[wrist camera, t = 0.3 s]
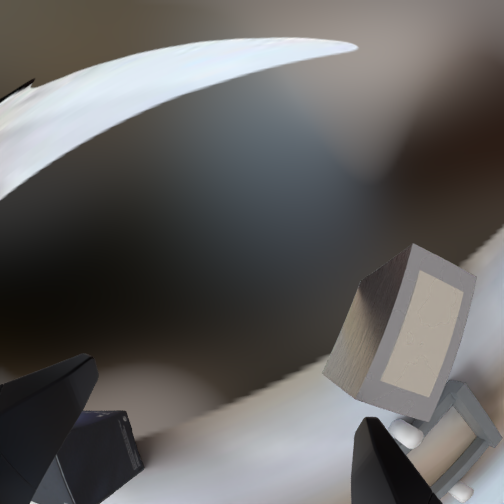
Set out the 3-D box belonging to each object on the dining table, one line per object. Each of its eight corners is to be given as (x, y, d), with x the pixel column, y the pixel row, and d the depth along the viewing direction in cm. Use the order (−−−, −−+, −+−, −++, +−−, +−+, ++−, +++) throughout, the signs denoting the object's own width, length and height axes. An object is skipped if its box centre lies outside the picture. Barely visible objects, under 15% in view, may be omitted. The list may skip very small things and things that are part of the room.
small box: (127, 405, 21) (49, 433, 11) (147, 470, 19) (86, 522, 9) (46, 405, 21) (-29, 416, 11) (63, 462, 19) (-4, 489, 9)
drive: (370, 391, 20) (429, 422, 11) (321, 373, 21) (355, 399, 11) (406, 301, 22) (477, 276, 12) (360, 280, 23) (413, 242, 13)
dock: (415, 520, 15) (428, 536, 12) (346, 462, 19) (357, 479, 15) (493, 440, 17) (512, 447, 13) (441, 368, 20) (462, 371, 17)
